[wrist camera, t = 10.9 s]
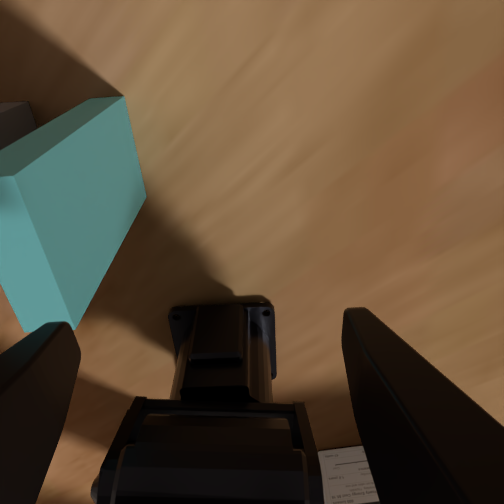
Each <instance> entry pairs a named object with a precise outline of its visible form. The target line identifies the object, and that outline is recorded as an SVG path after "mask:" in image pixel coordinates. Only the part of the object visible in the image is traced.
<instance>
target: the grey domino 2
mask: <svg viewBox="0 0 504 504" xmlns="http://www.w3.org/2000/svg"><path fill="white" fill-rule="evenodd" d="M36 129H37V126H36V123H35V120H34V117H33V114H32V111H31V108H30V105H29V102H28V101H22V102H6V103H0V150H2V149H4V148H5V147H7V146H9V145H10V144H12V143H14V142H16V141H17V140H19V139H21V138H23V137H24V136H26V135H28V134H29V133H31V132H33V131H35V130H36Z"/></svg>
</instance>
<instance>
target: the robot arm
mask: <svg viewBox="0 0 504 504" xmlns="http://www.w3.org/2000/svg"><path fill="white" fill-rule="evenodd" d="M264 310H269V311H268V312H264ZM174 314H178V315H180V316H175V315H174ZM168 319H169V323H170V328H171V333H172V337H173V342H174V346H175V351H176V355H177V365H176V370H175V375H174V380H173V385H172V390H171V395H170V399H147V397H139V396H136V397H135V399H134V401H133V403H132V405H131V407H130V409H128V410H127V413H126V415H125V417H124V419H123V421H122V423H121V425H120V427H119V429H118V432H117V434H116V436H115V438H114V440H113V442H112V444H111V446H110V449H109V451H108V453H107V455H106V457H105V459H104V461H103V463H102V466H101V468H100V473H99V474H98V476H97V477H96V479H95V480H94V481H93V484H92V487H91V497H92V499H93V501H94V502H95V504H324V493H323V481H322V473H321V466H320V462H319V457H318V453H317V449H316V446H315V442H314V438H313V435H312V431H311V427H310V423H309V420H308V416H307V412H306V408H305V405H304V402H293V403H273V398H272V381H271V380H273V379H275V378H276V375H277V372H276V341H275V312H274V306H273V305H272V304H270V303H245V304H224V305H202V306H181V307H173V308H171V309H170V311H169V315H168ZM342 351H343V356H344V362H345V367H346V373H347V379H348V384H349V390H350V396H351V401H352V407H353V412H354V417H355V421H356V424H357V428H358V432H359V435H360V438H361V442H362V445H363V448H364V452H365V455H366V458H367V462H368V465H369V468H370V471H371V475H372V478H373V481H374V485H375V488H376V491H377V495H378V498H379V501H380V504H504V426H502V425H501V424H500V423H499V422H498V421H497V420H495V419H494V418H493V417H492V416H491V415H490V414H488V413H487V412H486V411H485V410H484V409H483V408H482V407H480V406H479V405H478V404H477V403H476V402H475V401H473V400H472V399H471V398H470V397H469V396H468V395H466V394H465V393H464V392H463V391H462V390H461V389H460V388H458V387H457V386H456V385H455V384H454V383H453V382H451V381H450V380H449V379H448V378H447V377H446V376H444V375H443V374H442V373H441V372H440V371H439V370H438V369H436V368H435V367H434V366H433V365H432V364H431V363H429V362H428V361H427V360H426V359H425V358H424V357H422V356H421V355H420V354H419V353H418V352H417V351H416V350H414V349H413V348H412V347H411V346H410V345H409V344H407V343H406V342H405V341H404V340H403V339H402V338H400V337H399V336H398V335H397V334H396V333H395V332H394V331H392V330H391V329H390V328H389V327H388V326H387V325H385V324H384V323H383V322H382V321H381V320H380V319H378V318H377V317H376V316H375V315H374V314H373V313H371V312H370V311H369V310H368V309H367V308H364V307H355V308H347V309H345V311H344V315H343V326H342ZM80 360H81V351H80V348H79V345H78V342H77V340H76V337H75V335H74V332H73V330H72V327H71V325H70V324H69V323H68V322H66V321H57V322H47V323H45V324H43V325H42V326H40V327H39V328H38V329H36V330H35V331H33V332H32V333H30V334H29V335H28V336H26V337H25V338H23V339H22V340H20V341H19V342H18V343H16V344H15V345H13V346H12V347H10V348H9V349H8V350H6V351H5V352H3V353H2V354H0V504H35V503H36V501H37V498H38V495H39V492H40V490H41V487H42V484H43V482H44V479H45V476H46V474H47V471H48V468H49V466H50V463H51V460H52V458H53V455H54V452H55V450H56V447H57V444H58V441H59V438H60V436H61V433H62V430H63V426H64V423H65V419H66V415H67V412H68V408H69V404H70V400H71V396H72V392H73V388H74V384H75V380H76V376H77V372H78V368H79V364H80Z"/></svg>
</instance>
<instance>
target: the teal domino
mask: <svg viewBox="0 0 504 504" xmlns="http://www.w3.org/2000/svg"><path fill="white" fill-rule="evenodd" d="M146 197H147V196H146V192H145V187H144V183H143V178H142V174H141V169H140V165H139V160H138V156H137V151H136V147H135V142H134V138H133V133H132V129H131V125H130V120H129V116H128V111H127V107H126V102H125V98H124V96H118V97H104V98H90V99H88V100H86V101H84V102H83V103H81V104H79V105H78V106H76V107H74V108H72V109H71V110H69V111H67V112H66V113H64V114H62V115H60V116H59V117H57V118H55V119H53V120H52V121H50V122H48V123H47V124H45V125H43V126H41V127H40V128H38V129H36V130H35V131H33V132H31V133H29V134H28V135H26V136H24V137H23V138H21V139H19V140H17V141H16V142H14V143H12V144H10V145H9V146H7V147H5V148H4V149H2V150H0V284H1V286H2V288H3V290H4V292H5V294H6V296H7V298H8V300H9V302H10V304H11V306H12V308H13V310H14V312H15V314H16V316H17V318H18V320H19V322H20V324H21V326H22V328H23V330H24V332H33V331H35V330H36V329H38V328H39V327H40V326H42V325H43V324H45V323H47V322H57V321H66V322H68V323H69V324H70V325H71V327H72V330H75V329H76V328H77V326H78V324H79V322H80V320H81V318H82V316H83V315H84V313H85V311H86V309H87V307H88V305H89V303H90V301H91V300H92V298H93V296H94V294H95V292H96V290H97V288H98V287H99V285H100V283H101V281H102V279H103V277H104V275H105V274H106V272H107V270H108V268H109V266H110V264H111V262H112V261H113V259H114V257H115V255H116V253H117V251H118V249H119V248H120V246H121V244H122V242H123V240H124V238H125V236H126V234H127V233H128V231H129V229H130V227H131V225H132V223H133V221H134V220H135V218H136V216H137V214H138V212H139V210H140V208H141V207H142V205H143V203H144V201H145V199H146Z"/></svg>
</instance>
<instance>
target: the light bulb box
mask: <svg viewBox="0 0 504 504" xmlns="http://www.w3.org/2000/svg"><path fill="white" fill-rule="evenodd" d="M318 457H319V462H320V466H321V473H322V481H323V493H324V502H325V504H380V501H379V498H378V495H377V491H376V488H375V485H374V481H373V478H372V475H371V471H370V468H369V465H368V462H367V458H366V455H365V452H364V448H363V446H356V447H348V448H340V449H333V450H325V451H319V452H318Z"/></svg>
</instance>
